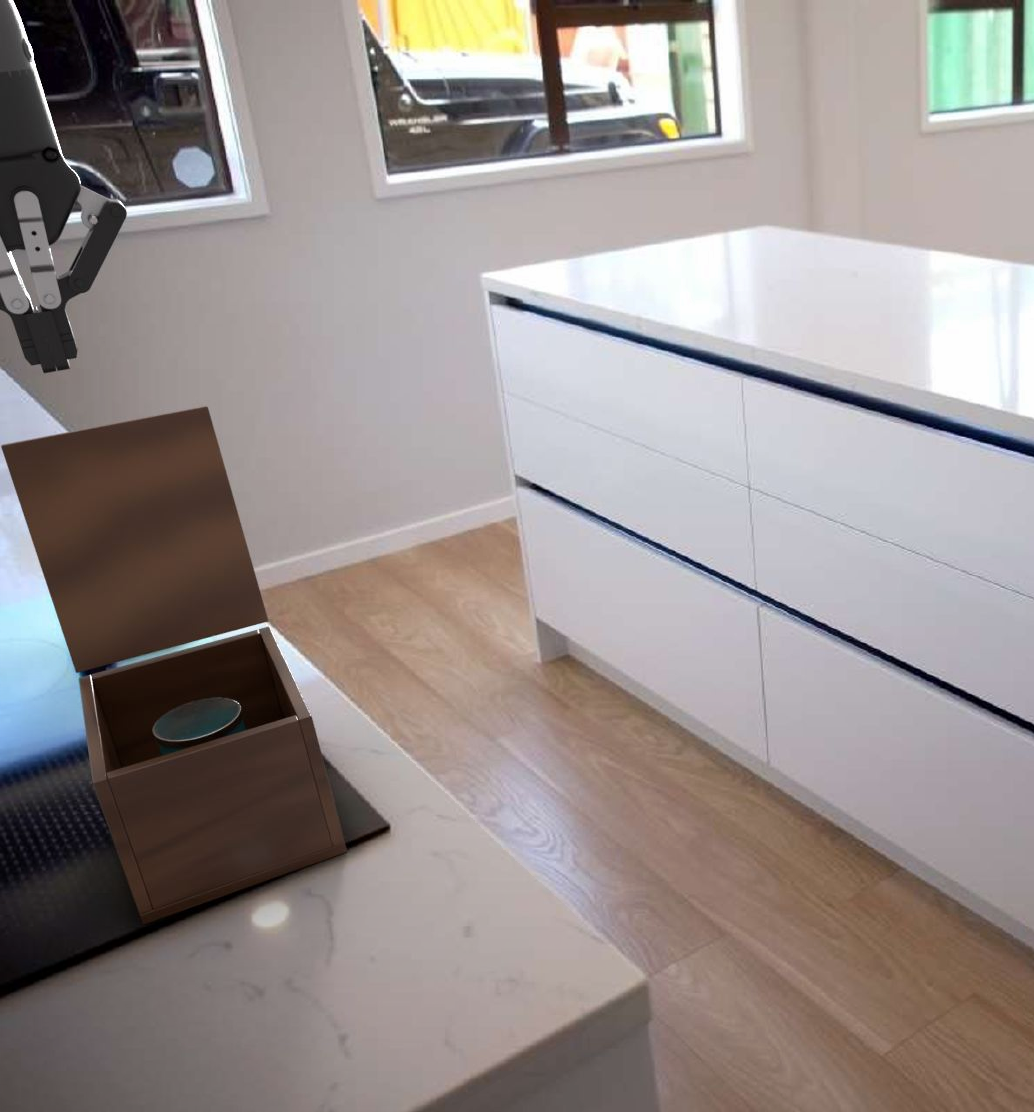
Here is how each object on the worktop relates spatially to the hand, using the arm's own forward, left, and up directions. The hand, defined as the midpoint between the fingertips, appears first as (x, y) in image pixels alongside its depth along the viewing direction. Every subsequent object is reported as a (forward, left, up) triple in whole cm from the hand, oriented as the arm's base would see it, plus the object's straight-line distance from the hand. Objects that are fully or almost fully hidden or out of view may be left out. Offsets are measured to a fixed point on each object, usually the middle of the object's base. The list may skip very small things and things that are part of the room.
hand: (56, 368), depth 78 cm
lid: (+3, +4, -14) cm, 15 cm away
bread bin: (0, -4, -33) cm, 33 cm away
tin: (0, -6, -32) cm, 33 cm away
